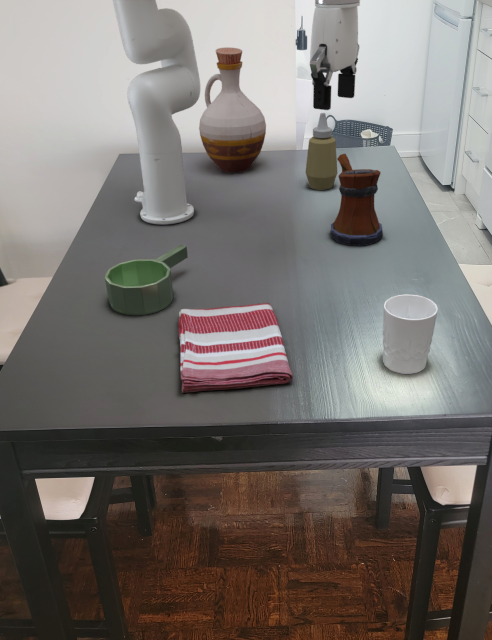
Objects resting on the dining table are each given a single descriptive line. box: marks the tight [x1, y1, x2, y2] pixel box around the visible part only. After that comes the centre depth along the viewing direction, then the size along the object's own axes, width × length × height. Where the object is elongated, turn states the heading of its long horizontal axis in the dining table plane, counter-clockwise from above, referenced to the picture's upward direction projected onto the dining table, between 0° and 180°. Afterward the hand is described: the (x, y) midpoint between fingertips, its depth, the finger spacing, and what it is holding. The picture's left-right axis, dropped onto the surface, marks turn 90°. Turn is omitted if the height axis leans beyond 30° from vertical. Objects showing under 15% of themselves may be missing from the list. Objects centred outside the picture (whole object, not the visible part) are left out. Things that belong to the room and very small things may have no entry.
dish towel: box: [178, 302, 294, 394], centre depth 112 cm, size 17×23×3 cm
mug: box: [330, 153, 384, 247], centre depth 148 cm, size 18×12×15 cm, turn 11°
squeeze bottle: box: [305, 112, 338, 191], centre depth 171 cm, size 8×8×18 cm
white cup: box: [382, 293, 439, 375], centre depth 106 cm, size 8×8×10 cm
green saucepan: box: [104, 244, 189, 316], centre depth 129 cm, size 20×12×6 cm, turn 148°
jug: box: [198, 47, 267, 174], centre depth 182 cm, size 20×18×30 cm
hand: (334, 103), depth 125 cm, fingers open, 9 cm apart
